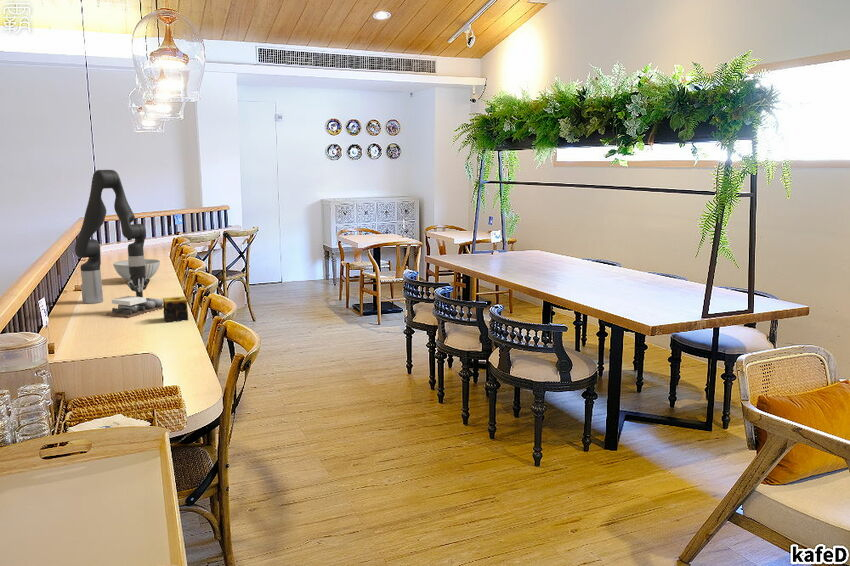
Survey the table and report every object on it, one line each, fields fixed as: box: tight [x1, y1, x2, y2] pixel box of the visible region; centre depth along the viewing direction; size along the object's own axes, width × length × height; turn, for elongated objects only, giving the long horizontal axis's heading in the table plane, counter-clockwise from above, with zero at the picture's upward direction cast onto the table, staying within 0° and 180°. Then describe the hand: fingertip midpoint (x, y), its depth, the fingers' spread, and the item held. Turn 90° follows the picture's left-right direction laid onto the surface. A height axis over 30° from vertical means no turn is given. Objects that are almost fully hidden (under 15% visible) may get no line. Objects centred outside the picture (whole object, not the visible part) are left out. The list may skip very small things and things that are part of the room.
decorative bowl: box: [112, 258, 161, 282], centre depth 407 cm, size 27×27×12 cm
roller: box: [117, 304, 140, 313], centre depth 318 cm, size 10×4×4 cm, turn 67°
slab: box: [111, 295, 147, 306], centre depth 318 cm, size 12×10×2 cm
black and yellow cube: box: [162, 296, 189, 323], centre depth 306 cm, size 10×10×10 cm
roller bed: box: [106, 297, 164, 319], centre depth 323 cm, size 14×24×5 cm, turn 156°
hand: (139, 298), depth 324 cm, fingers closed
